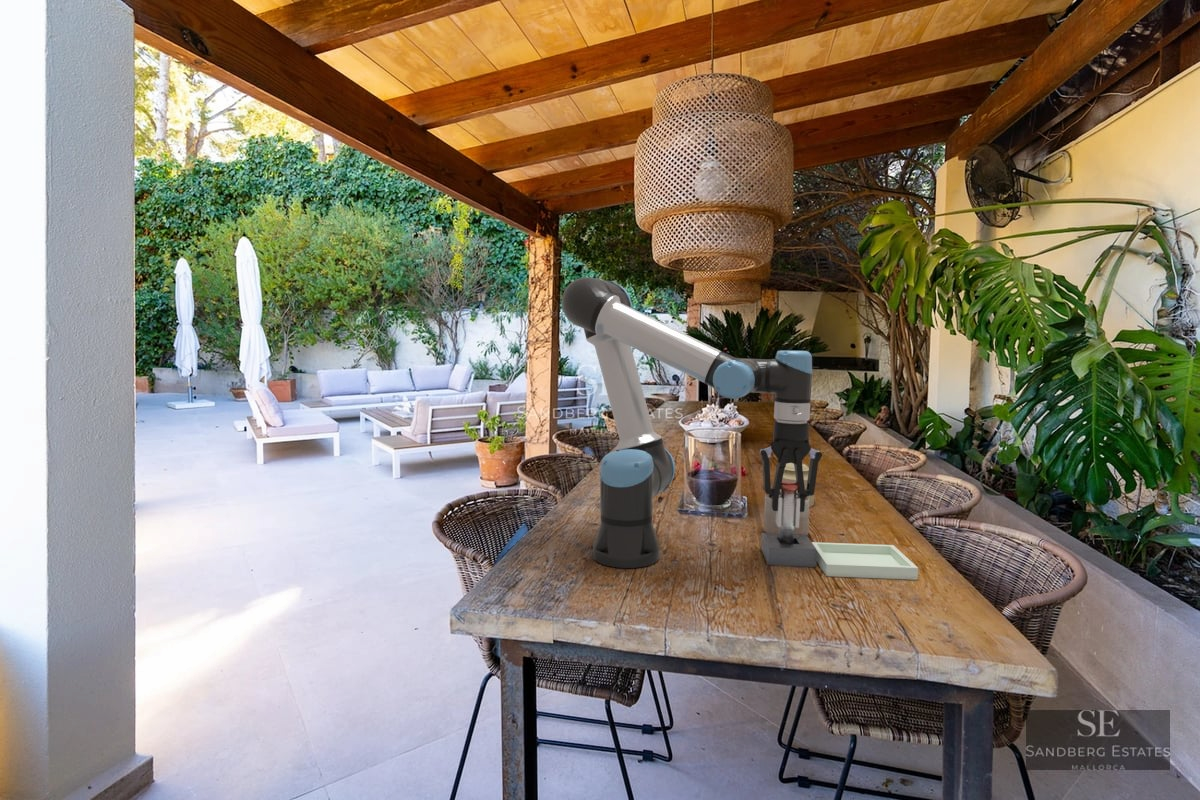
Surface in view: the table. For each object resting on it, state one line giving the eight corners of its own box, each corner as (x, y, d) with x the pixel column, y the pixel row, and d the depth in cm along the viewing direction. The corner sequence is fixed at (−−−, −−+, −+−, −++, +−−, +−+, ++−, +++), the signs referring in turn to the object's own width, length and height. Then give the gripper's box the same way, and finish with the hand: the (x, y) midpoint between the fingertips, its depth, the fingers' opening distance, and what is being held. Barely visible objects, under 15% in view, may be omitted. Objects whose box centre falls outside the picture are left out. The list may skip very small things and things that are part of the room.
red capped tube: (777, 552, 136) (780, 484, 135) (774, 545, 140) (777, 480, 139) (798, 553, 136) (801, 485, 134) (794, 546, 140) (797, 480, 138)
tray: (826, 576, 128) (826, 564, 127) (810, 552, 141) (811, 542, 141) (917, 579, 126) (918, 567, 125) (892, 555, 139) (893, 545, 139)
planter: (811, 541, 149) (812, 503, 148) (764, 538, 151) (766, 500, 150) (805, 528, 160) (806, 492, 159) (762, 525, 162) (763, 490, 161)
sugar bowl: (763, 496, 192) (764, 448, 191) (795, 494, 194) (797, 447, 193) (786, 509, 178) (788, 457, 176) (821, 507, 180) (823, 456, 178)
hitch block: (768, 565, 134) (768, 547, 133) (761, 549, 144) (761, 532, 143) (815, 567, 133) (816, 549, 132) (805, 551, 143) (805, 534, 142)
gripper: (756, 422, 132) (752, 528, 135) (834, 424, 130) (829, 532, 133) (751, 417, 140) (747, 518, 142) (825, 419, 138) (820, 521, 140)
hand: (787, 525), depth 137 cm, fingers closed on red capped tube, 3 cm apart
